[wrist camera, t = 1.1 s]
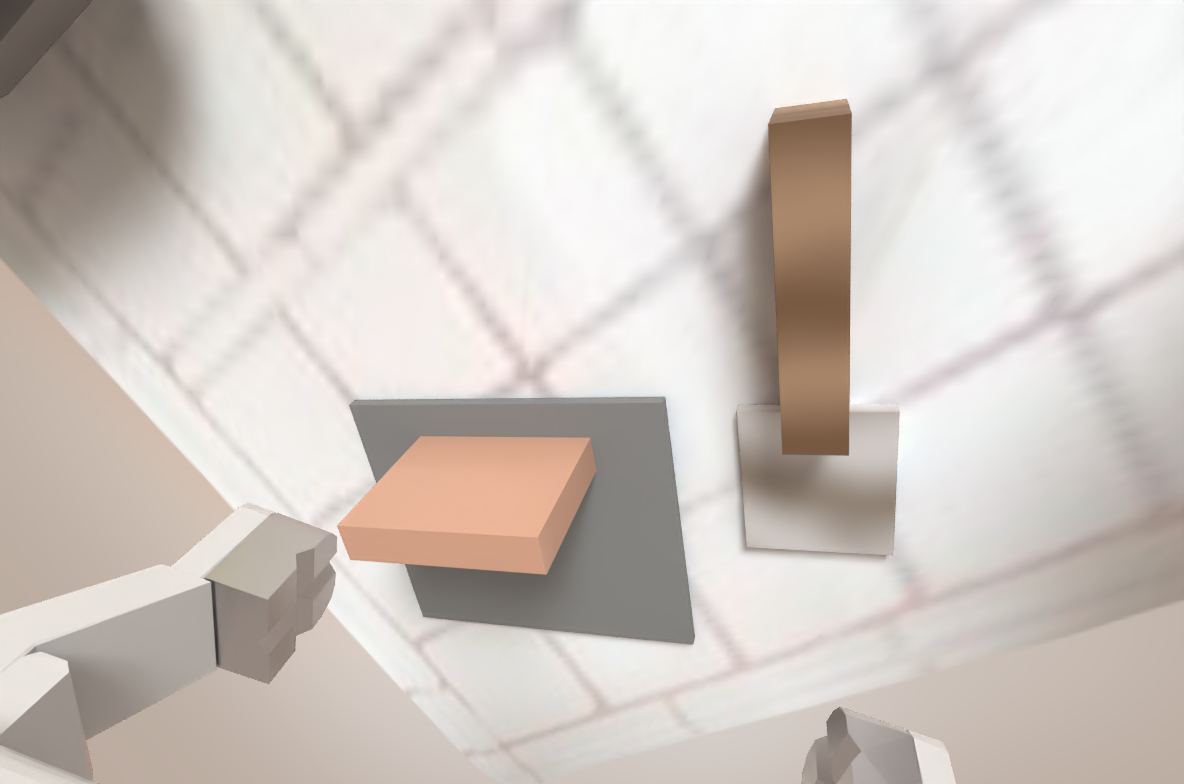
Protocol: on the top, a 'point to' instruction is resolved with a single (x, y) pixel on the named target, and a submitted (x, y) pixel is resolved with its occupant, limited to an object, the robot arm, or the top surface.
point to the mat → (597, 532)
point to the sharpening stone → (31, 34)
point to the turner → (816, 362)
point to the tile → (473, 503)
